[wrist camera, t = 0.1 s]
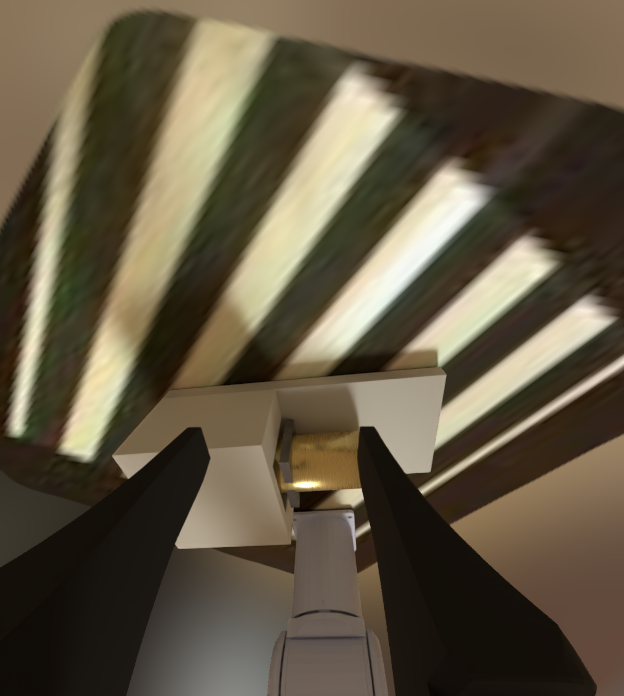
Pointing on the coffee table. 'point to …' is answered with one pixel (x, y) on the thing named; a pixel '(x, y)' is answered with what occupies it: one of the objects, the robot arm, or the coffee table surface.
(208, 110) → the coffee table surface
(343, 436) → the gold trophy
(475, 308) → the coffee table surface
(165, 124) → the coffee table surface
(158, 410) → the housing
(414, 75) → the coffee table surface
